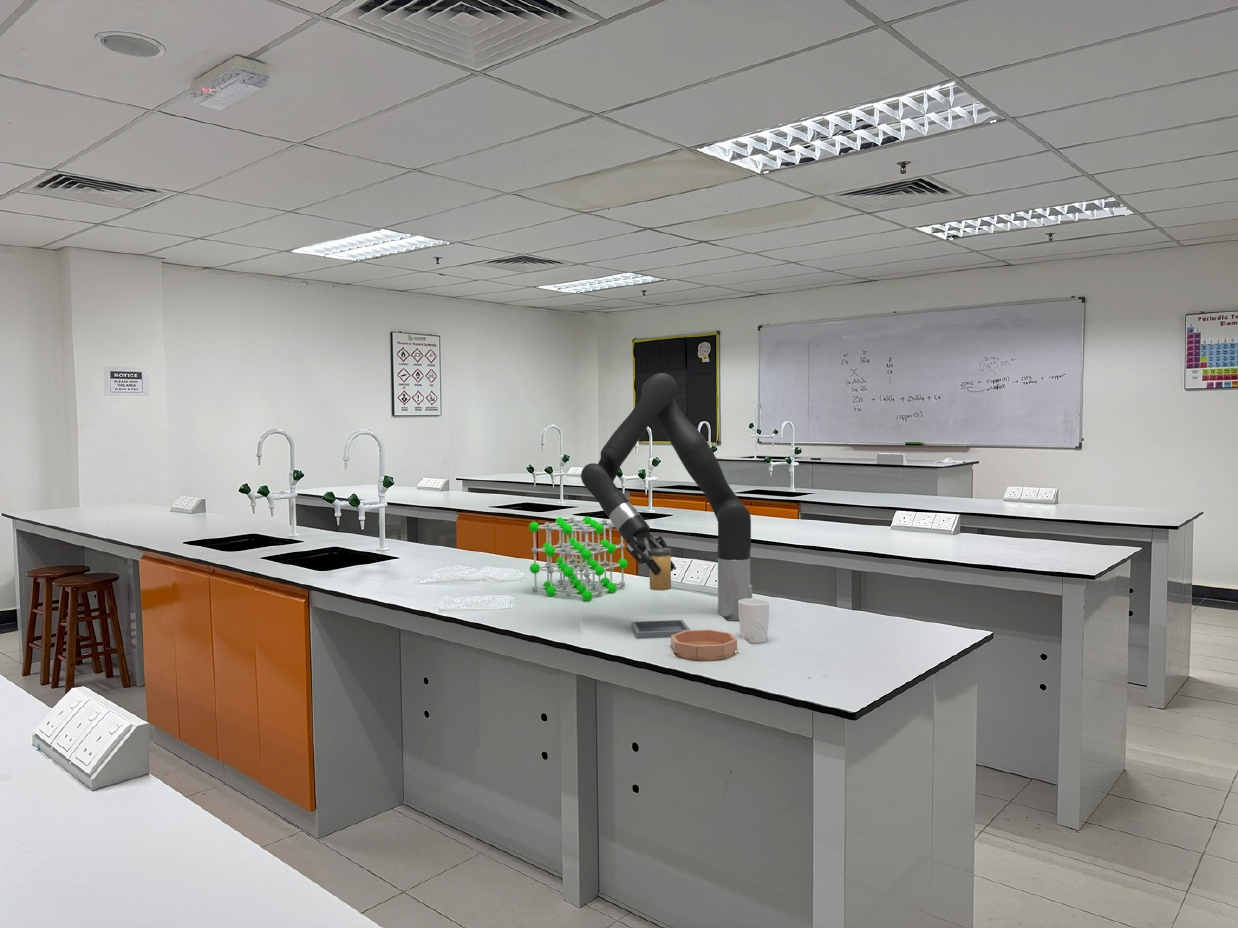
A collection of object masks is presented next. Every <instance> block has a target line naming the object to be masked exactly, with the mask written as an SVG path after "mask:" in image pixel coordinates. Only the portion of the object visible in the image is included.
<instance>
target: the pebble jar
mask: <svg viewBox="0 0 1238 928" xmlns="http://www.w3.org/2000/svg"><path fill="white" fill-rule="evenodd" d="M650 555H651V556H652V560H653V559H654V561H655V562H656V563H657V564H658V566H659V567H660V568H661V572H660V573H659V574H658V575H654V573H653V572H652V571H651V570H650V568H649V567H648V569H649V590H651V591H657V592H658V591H660V592H661V591H668V590H669V591H670V590H671V589H672V571H671V561H672V559H671V555H672V549H671V547H670V548H669V547H668V548H657V547H656V548H652V549H651V550H650Z"/></svg>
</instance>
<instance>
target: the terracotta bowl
mask: <svg viewBox="0 0 1238 928" xmlns="http://www.w3.org/2000/svg"><path fill="white" fill-rule="evenodd" d="M670 647H671V648H672V651H673V652H672V654H673V655H674V656H676V657H679V658H680V659H685V660H689V659H691V661H701V662H711V661H721V660H726V659H729V658H731V657H733V656H734V655H735V654H736V651H737V650H738V639H737V638H736V637H735V635H734V634H732V633H731V632H726V631H721V630H720V631H719V630H714V629H695V630H693V629H690V630H686V631H682V632H680V633H677V634H674V635H671V638H670Z"/></svg>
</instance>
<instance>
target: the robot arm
mask: <svg viewBox="0 0 1238 928" xmlns="http://www.w3.org/2000/svg"><path fill="white" fill-rule="evenodd" d="M677 384H678V383H677V381H676V379H675V378H674V377H673V376H672V375H671V374H668V373H665V372H659V373H656V374H653V375H651V377H649V378H648V379H647V380H646V381H645V382H644V383H643V385H642V386H641V390H640V391H641V397H640V398H639V401H638V402H637V403H636V405H635V406H634V408H633V410H632V411H631V412H630V413H629V414H628V416H627V417H626V418H625V419H624V420H623V421H622V422H621V423H620V424H619V426H618V427H617V429H616V430H615V431H613V433H612V434H611V436H610V437H609V438H608V440H607V441H606V443H605V444H604V445H603V447H602V449H601V451H600V459H599V461H598V463H596V462H595V463H594V462H593V463H588V464H585V466H584V467H583V468H582V470H581V472H580V479H581V482H582V484H583V485H584V487H586V489H587V491H588V492H589V493H590V494H591V495H592V496H593V497H594V498H595V500H596V501H597V502H598V504H599V505H600V507H601V509H602V510H603V512H604V513H605V515H606V516H607V517H608V519H609V520H610V522H612V525H614V527H613V528H615V530H616V531H617V532H618V534H619V535H620V537H621V536H622V537H623V541H625V543H626V544H627V545H626V546H625V550H626V551H627V552H628V553H629V554H630V555H631V557H632V558H633V559H634V560H635V561H636V562H637V563H638V564H639V565H642V564H644V565H645V566H647V567H648V569H649V568H650V570H651V571H652V572H653V573H654V575H658V574H659V573H660V572H661V568H660V567H659V566H658V564H657V563H656V562H655V561H654V559H653V560H652V556H651V555H650V550H651V549H652V548H669V546H668V545H667V543H666V542H665V539H664V538H663V536H661V535H659V536H658V537H654V536H653V535H652V534H651V533H650V529H651V528H650V526H649V524H648V523H647V521H646V520H645V519H644V517H643V516H642V515H641V514H640V512H639V511H638V510H637V509H636V507H635V506H634V505H632V504H631V502H630V501H629V500H628V498H627V497H626V496H625V494H623V493H622V491H621V490H620V489H619V488H618V487H617V486H616V484H615V482H614V481H615V479H616V477H617V476H618V475H617V474H618V473H619V471H620V468H621V466H622V464H623V463H624V462H625V460H626V459H627V458H628V456H629V455H630V454H631V453H632V451H633V449H634V448H635V446H636V445H637V443H638V442H639V441H640V439H641V438H642V436H643V434H644V433H645V432H646V430H647V429H648V427H649V426H650V425H651V423H652V422H654V419H656V420H657V422H658V423H659V425H660V426H661V427H662V429H663V431H664V433H665V435H666V437H667V439H668V440H669V442H670V445H672V447H673V449H674V451H675V453H676V455H677V456H678V459H679V460H680V461H681V464H682V465H683V466H684V469H685V470H686V472H687V473H688V475H689V476H690V477H691V479H692V480H693V481H694V482H695V484H696V485H697V487H699V488H700V490H701V491H702V492H703V494H704V496H705V497H706V499H707V500H708V503H709V504H710V506H711V510H712V511H713V513H714V515H715V518H716V520H717V614H718V616H720V617H721V618H722V617H723V619H724V620H727V621H739V607H738V601H739V600H741V599H748V598H753V585H752V584H751V549H752V520H751V519H752V518H751V513H750V511H749V510H748V508H747V507H746V506H745V504H744V503H742V502H741V501H740V499H739V497H738V496H737V495H736V493H735V492H734V491H733V490H732V488H731V487H730V485H729V483H728V482H727V480H726V478H725V475H724V473H723V470H722V467H721V465H720V463H719V461H718V459H717V457H716V454H714V451H713V449H712V447H711V446H710V444H709V442H708V441H707V440H706V438H705V437H704V435H703V434H702V433H701V431H699V430H698V429H697V428H696V427H695V426H694V425H693V423H691V422H690V421H689V420H688V418H687V417H686V416H685V415H684V413H683V411H682V410H681V409H680V406H679V405H678V402H677V400H676V396H677V394H678V385H677ZM674 569H676V565H675V564H674V562H673V561H672V560H671V572H673V571H674Z"/></svg>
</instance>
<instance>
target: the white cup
mask: <svg viewBox="0 0 1238 928" xmlns="http://www.w3.org/2000/svg"><path fill="white" fill-rule="evenodd" d="M738 607H739V620H738V621H739V623H738V624H739V631H740V638H743V639H744V640H745V641H746V642H747V643H748V644H761V643H762V644H763V643H765V642H767V641H768V630H769V623H770V622H769V621H770V619H769V617H770V616H769V615H770V601H769V600H768V599H764V598H755V597H754V598H753V597H752V598H748V599H741V600H739V601H738Z"/></svg>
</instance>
